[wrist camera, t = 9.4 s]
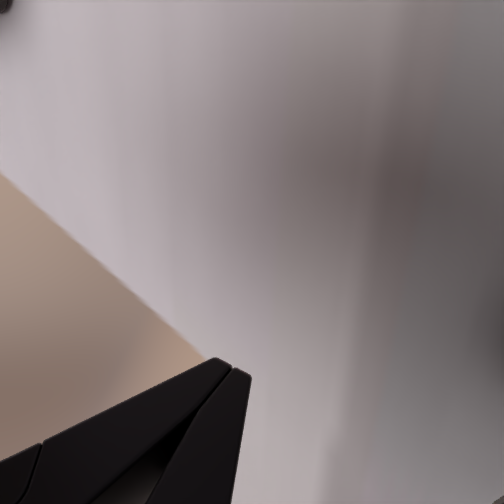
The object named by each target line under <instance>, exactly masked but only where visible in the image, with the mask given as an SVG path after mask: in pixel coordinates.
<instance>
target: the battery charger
mask: <svg viewBox="0 0 504 504" xmlns="http://www.w3.org/2000/svg"><path fill="white" fill-rule="evenodd" d="M7 2H8V0H0V13H2V12H3V11H4V10H5V8H6V5H7Z"/></svg>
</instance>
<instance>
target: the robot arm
mask: <svg viewBox="0 0 504 504" xmlns="http://www.w3.org/2000/svg"><path fill="white" fill-rule="evenodd" d="M251 381H252V377H251V375H250V374H248V373H246V372H244V371H242V370H240V369H238V368H232V366H231V365H230V364H229V363H227V362H225V361H223V360H221V359H219V358H216V357H215V358H211V359H209V360H207V361H205V362H203V363H201V364H199V365H197V366H195V367H193V368H191V369H189V370H187V371H185V372H183V373H181V374H179V375H177V376H174V377H172V378H170V379H168V380H166V381H164V382H162V383H160V384H158V385H157V386H154V387H152V388H150V389H148V390H146V391H144V392H142V393H140V394H138V395H136V396H134V397H131V398H129V399H127V400H125V401H124V402H121V403H119V404H117V405H115V406H113V407H111V408H109V409H107V410H105V411H103V412H101V413H99V414H97V415H95V416H93V417H91V418H89V419H87V420H85V421H82V422H80V423H78V424H76V425H75V426H72V427H70V428H68V429H66V430H64V431H62V432H60V433H58V434H56V435H54V436H52V437H50V438H48V439H46V440H44V441H43V444H41V443H37V444H35V445H33V446H31V447H29V448H27V449H25V450H23V451H21V452H19V453H17V454H15V455H13V456H10V457H9V458H6V459H4V460H2V461H0V504H231V501H232V495H233V489H234V483H235V477H236V471H237V465H238V459H239V453H240V447H241V441H242V435H243V429H244V423H245V417H246V411H247V405H248V399H249V393H250V387H251ZM493 504H504V496H502V497H501V498H499V499H498V500H496V501H494V503H493Z"/></svg>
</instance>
